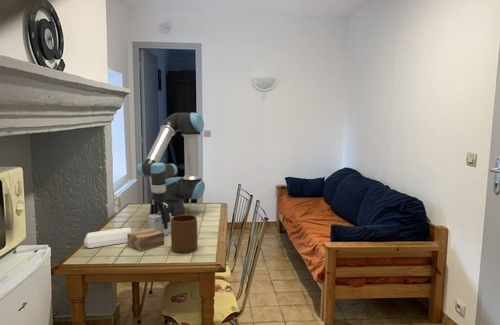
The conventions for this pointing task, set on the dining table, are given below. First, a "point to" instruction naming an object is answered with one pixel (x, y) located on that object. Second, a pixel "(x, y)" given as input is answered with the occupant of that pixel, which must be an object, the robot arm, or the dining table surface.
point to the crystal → (107, 237)
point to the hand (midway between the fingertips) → (160, 232)
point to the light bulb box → (158, 222)
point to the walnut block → (145, 239)
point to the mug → (184, 233)
